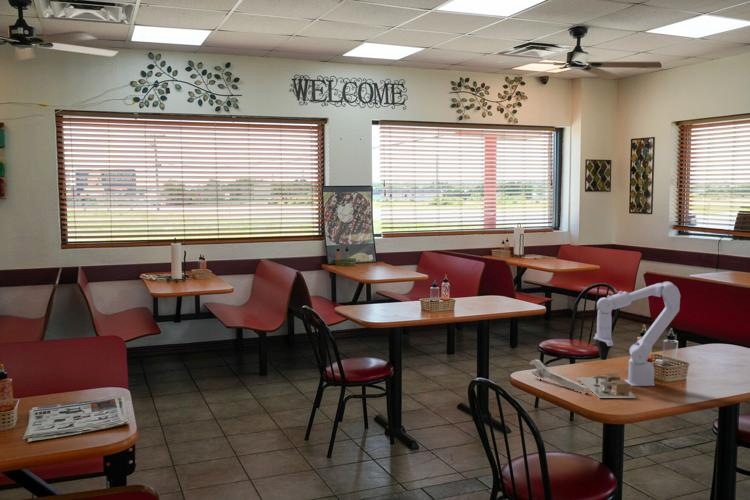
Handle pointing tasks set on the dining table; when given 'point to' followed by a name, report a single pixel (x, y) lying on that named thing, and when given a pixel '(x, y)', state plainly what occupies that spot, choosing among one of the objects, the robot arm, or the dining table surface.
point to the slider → (607, 378)
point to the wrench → (555, 376)
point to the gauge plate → (607, 388)
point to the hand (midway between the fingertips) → (603, 359)
